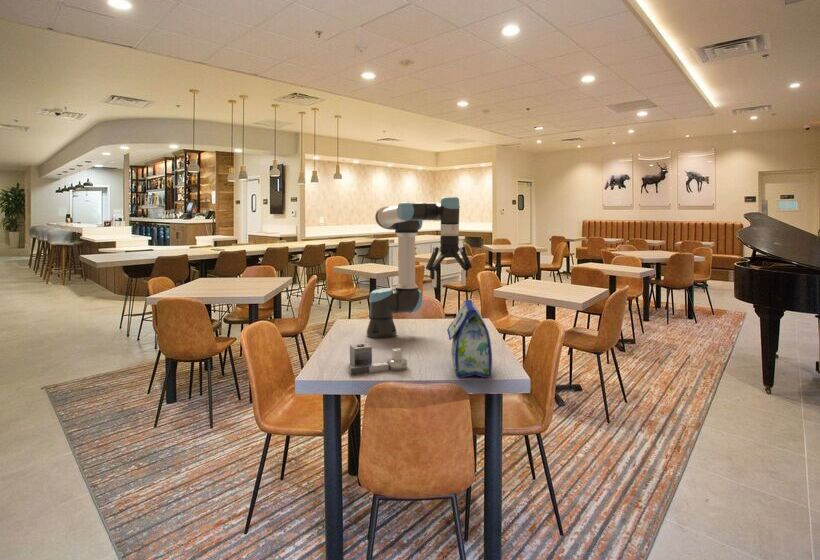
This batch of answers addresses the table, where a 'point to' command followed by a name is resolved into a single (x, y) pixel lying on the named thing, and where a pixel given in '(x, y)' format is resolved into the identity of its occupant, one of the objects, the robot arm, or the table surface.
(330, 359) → the table surface
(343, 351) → the table surface
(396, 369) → the chrome ball-end bar
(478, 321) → the lunch bag
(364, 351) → the grey square block
